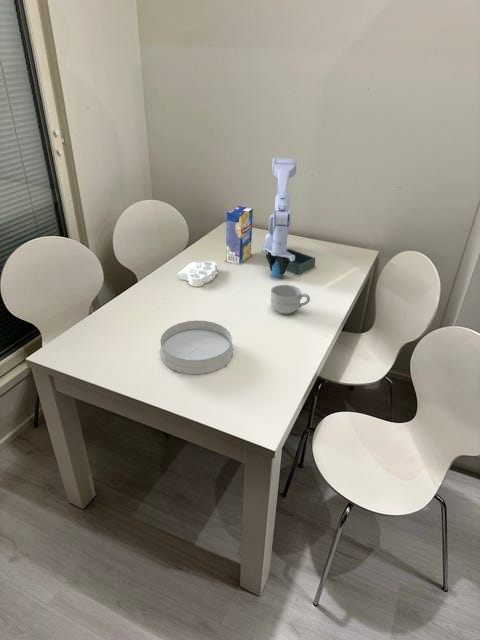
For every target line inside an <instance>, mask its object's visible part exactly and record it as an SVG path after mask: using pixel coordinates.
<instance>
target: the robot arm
mask: <svg viewBox="0 0 480 640" xmlns="http://www.w3.org/2000/svg"><path fill="white" fill-rule="evenodd" d="M271 161H272V162H271V174H272V176H273V177H276V178H277V189H276V195H275V198H274V211H273V213H272V214H270V215H269V219H268V228H267V229H268V230H267V233H266V234H265V238H264V246H263V247H262V248H263V251H262V252H264V253H267V254H265V258H266V260H267V262H268V265H269V270H270V272H272V265H273V264H274V263H275V258H277V256H280V257H283V259H280V260H279V261H280V275H283V276H284V275H285V274H286V272H287V271H286V268H287V266H288V264H289V262H290V261H294V260H295V255H292V254H291V253H289V252H288V251H286V250H287V249H288V248H287V247H288V235H290V233H291V226H292V224H291V223H292V222H291V221H292V219H291V209H290V208H291V207H290V203H291V196H290V195H289V193H288V190H289V183H290V179H291V178H294V177H295V175H296V173H297V165H298V164H297V163H298V160H297V158H295V157H294V158H289V157H287V158H285V157H273V158H272V160H271Z"/></svg>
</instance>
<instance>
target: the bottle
mask: <svg viewBox="0 0 480 640" xmlns="http://www.w3.org/2000/svg"><path fill="white" fill-rule="evenodd" d="M280 259H282V258H275V263H274V264H273V265H272V271H271V277H272V278H273V279H275V280H276V279H282V278H283V277H284V274H283V275H280V261H279V260H280Z"/></svg>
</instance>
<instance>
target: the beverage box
mask: <svg viewBox="0 0 480 640" xmlns="http://www.w3.org/2000/svg"><path fill="white" fill-rule="evenodd" d="M253 211H254V209H253V208H252V207H247V206H241V205H237V206H236V207H233V208H232V209H231V210H229V211H227V212H226V237H225V238H226V241H225V242H226V243H225V244H226V245H225V250H226V251H225V260H226V261H225V262H228V263H232V264H241V263H244V261H245V260H246V259H248V258H249V257H251V256H252V240H253V239H252V238H253V237H252V236H253V217H254V215H253V213H254V212H253Z"/></svg>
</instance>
